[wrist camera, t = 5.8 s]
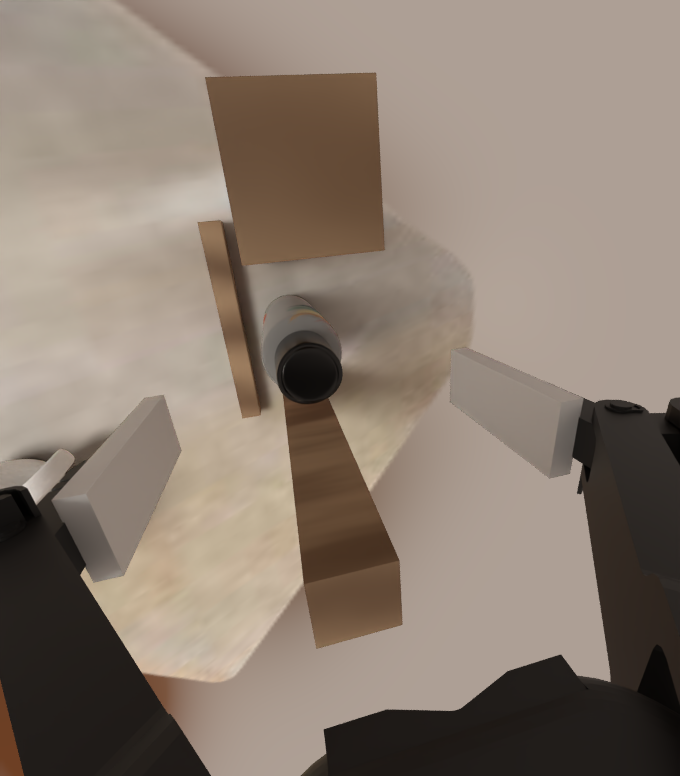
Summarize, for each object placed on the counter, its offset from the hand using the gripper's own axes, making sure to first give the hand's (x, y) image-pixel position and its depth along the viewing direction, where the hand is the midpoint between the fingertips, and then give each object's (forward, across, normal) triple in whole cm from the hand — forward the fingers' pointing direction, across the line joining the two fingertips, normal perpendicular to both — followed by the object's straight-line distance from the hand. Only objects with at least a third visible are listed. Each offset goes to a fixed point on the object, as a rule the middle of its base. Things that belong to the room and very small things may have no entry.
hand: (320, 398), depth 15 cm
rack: (+24, -2, 0) cm, 24 cm away
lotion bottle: (+24, 0, 0) cm, 24 cm away
